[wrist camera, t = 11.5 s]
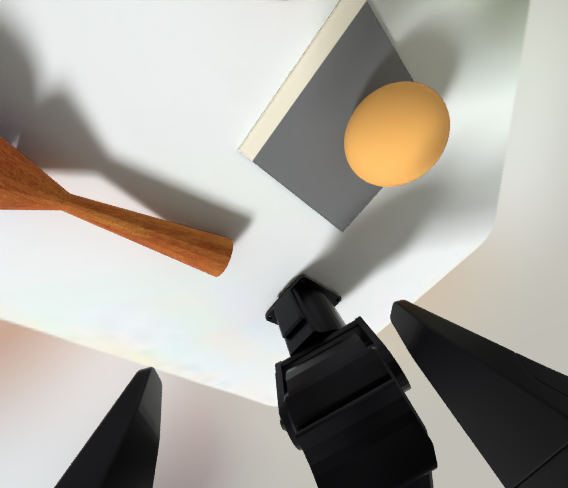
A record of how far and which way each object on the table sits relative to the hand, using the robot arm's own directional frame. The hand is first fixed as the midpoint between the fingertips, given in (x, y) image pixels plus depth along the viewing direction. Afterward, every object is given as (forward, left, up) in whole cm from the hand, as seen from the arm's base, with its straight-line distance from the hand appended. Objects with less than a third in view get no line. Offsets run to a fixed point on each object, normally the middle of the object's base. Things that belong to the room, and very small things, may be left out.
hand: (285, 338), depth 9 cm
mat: (-3, -10, -13) cm, 16 cm away
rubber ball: (-4, -11, -9) cm, 15 cm away
